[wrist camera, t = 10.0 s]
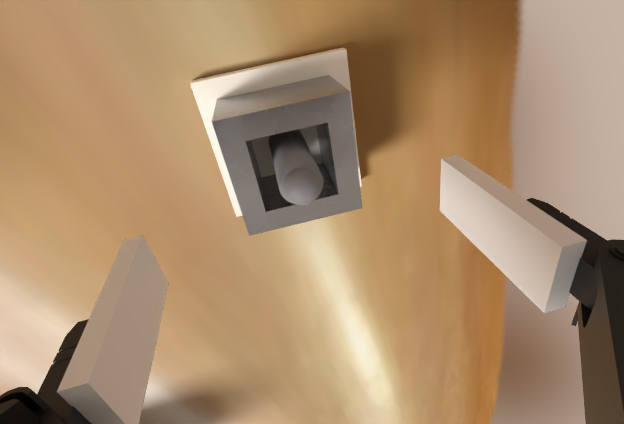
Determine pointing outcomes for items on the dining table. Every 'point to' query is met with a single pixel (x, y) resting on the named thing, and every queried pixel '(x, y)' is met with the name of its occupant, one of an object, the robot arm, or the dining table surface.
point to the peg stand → (284, 146)
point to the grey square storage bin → (282, 118)
